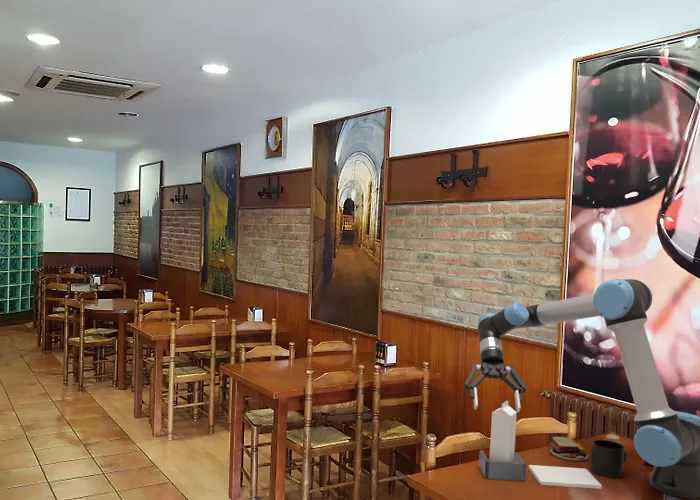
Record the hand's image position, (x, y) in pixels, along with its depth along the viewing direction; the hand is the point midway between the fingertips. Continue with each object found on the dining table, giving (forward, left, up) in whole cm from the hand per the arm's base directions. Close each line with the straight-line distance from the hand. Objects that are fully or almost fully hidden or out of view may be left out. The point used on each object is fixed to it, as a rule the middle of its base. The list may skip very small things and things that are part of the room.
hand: (497, 408), depth 204 cm
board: (-20, +9, -18) cm, 28 cm away
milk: (-1, +8, -18) cm, 20 cm away
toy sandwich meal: (-28, -14, -18) cm, 36 cm away
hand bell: (-46, -21, -18) cm, 53 cm away
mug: (-37, +1, -18) cm, 41 cm away
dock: (-1, +8, -18) cm, 19 cm away
